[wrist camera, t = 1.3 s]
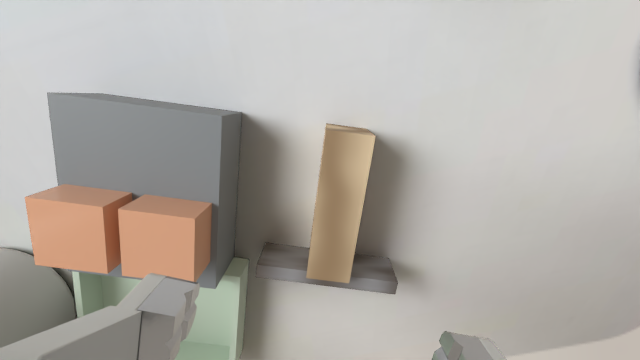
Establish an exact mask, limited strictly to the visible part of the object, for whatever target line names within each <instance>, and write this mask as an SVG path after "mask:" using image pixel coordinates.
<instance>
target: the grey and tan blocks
mask: <svg viewBox="0 0 640 360" xmlns="http://www.w3.org/2000/svg"><path fill="white" fill-rule="evenodd" d="M375 137H376V136H375V135H374V134H372V133H371V132H370V131H368V130H367V129H363V128H356V127H348V126H341V125H333V124H326V128H325V136H324V143H323V151H322V158H321V166H320V173H319V181H318V188H317V196H316V203H315V211H314V218H313V226H312V233H311V241H310V248H305V247H297V246H289V245H281V244H273V243H266V244H265V246H264V248H263V251H262V253H261V256H260V258H259V260H258V263H257V268H256V277H259V278H267V279H275V280H283V281H291V282H300V283H308V284H316V285H324V286H332V287H340V288H348V289H356V290H364V291H372V292H380V293H388V294H395V293H396V289H397V284H398V281H397V279H396V276H395V273H394V271H393V268H392V266H391V263H390V261H389V258H384V257H376V256H368V255H360V254H354V253H355V248H356V242H357V237H358V231H359V226H360V220H361V215H362V209H363V204H364V198H365V193H366V187H367V181H368V176H369V170H370V165H371V159H372V154H373V148H374V143H375Z"/></svg>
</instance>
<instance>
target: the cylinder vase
mask: <svg viewBox="0 0 640 360" xmlns="http://www.w3.org/2000/svg"><path fill="white" fill-rule="evenodd" d="M75 317H76V308H75V302H74V298H73V296H72V293H71V291H70V289H69V287H68V286H67V284H66V283H65V281H64V280H63V279H62V277H61V276H60V275H59V274H58V273H57V272H56V271H55V270H54V269H52V268H51V267H48V266H40V265H35V260H34V256H32V255H29V254H27V253H24V252H21V251H17V250H13V249H6V248H0V348H2V347H4V346H7V345H10V344H12V343H15V342H17V341H20V340H23V339H25V338H28V337H30V336H33V335H36V334H38V333H41V332H43V331H46V330H49V329H51V328H54V327H56V326H59V325H62V324H64V323H67V322H69V321H72V320H74V319H75Z"/></svg>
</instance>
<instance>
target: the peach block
mask: <svg viewBox="0 0 640 360" xmlns="http://www.w3.org/2000/svg"><path fill="white" fill-rule="evenodd" d="M118 218H119V234H120V250H121V267H122V276H128V277H136V278H144V277H145V276H146V275H148V274H150V273H155V274H160V275H165V276H170V277H174V278H179V279H184V280H188V281H193V282H196V281H197V279H198V278H199V277H200V275H201V274H202V272H203V271H204V270H205V268H206V267H207V265H208V264H209V262H210V251H211V219H212V203H209V202H201V201H193V200H185V199H178V198H170V197H162V196H154V195H147V194H145V195H143V196H141V197H139V198H138V199H136V200H134V201H132V202H130V203H128V204H126V205H124V206H123V207H121V208H119V209H118Z"/></svg>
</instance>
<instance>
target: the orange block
mask: <svg viewBox="0 0 640 360" xmlns="http://www.w3.org/2000/svg"><path fill="white" fill-rule="evenodd" d="M25 201H26V208H27V214H28V221H29V228H30V234H31V241H32V247H33V254H34V260H35V265H40V266H48V267H56V268H64V269H72V270H80V271H88V272H96V273H104V274H108V273H109V272H111V271H112V270H113V269H114V268H116V267H117V266H118V265H119V264H121V250H120V234H119V218H118V209H119V208H121V207H123V206H124V205H126V204H128V203H130V202H132V193H131V192H123V191H115V190H108V189H100V188H92V187H84V186H76V185H69V184H63V185H60V186H57V187H54V188H51V189H48V190H45V191H42V192H39V193H36V194H33V195H30V196H27V197H25Z"/></svg>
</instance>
